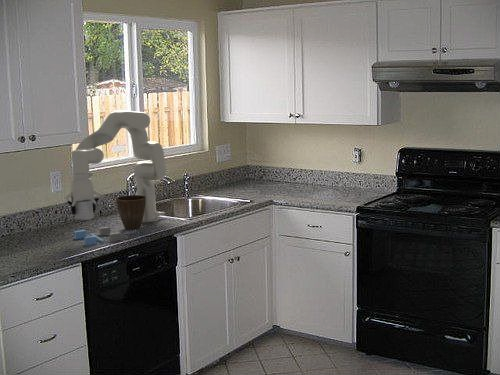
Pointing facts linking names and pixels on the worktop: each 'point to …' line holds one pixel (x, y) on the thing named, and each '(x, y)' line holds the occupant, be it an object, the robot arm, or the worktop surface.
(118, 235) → the grey duct
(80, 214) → the medicine box
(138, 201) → the plant pot
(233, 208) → the worktop surface
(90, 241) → the blue duct
